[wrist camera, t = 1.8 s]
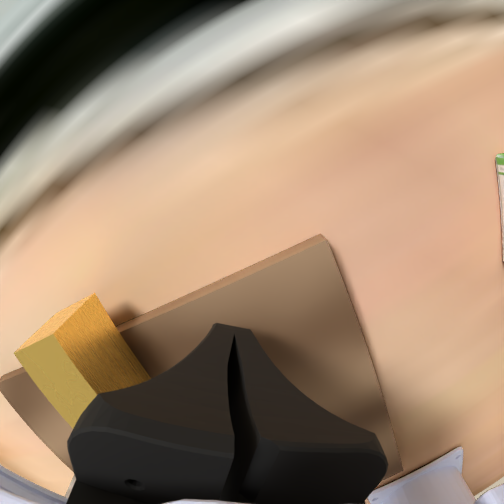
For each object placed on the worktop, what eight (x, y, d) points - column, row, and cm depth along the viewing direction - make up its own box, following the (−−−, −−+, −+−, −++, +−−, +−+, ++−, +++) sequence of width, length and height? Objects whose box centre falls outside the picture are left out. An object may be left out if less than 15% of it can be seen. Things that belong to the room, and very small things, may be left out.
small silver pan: (339, 484, 15) (352, 529, 12) (172, 520, 16) (167, 559, 13) (200, 239, 11) (182, 274, 8) (2, 343, 12) (-38, 379, 9)
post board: (398, 460, 17) (423, 516, 12) (153, 522, 18) (144, 570, 13) (320, 233, 13) (368, 278, 8) (2, 375, 14) (-41, 423, 9)
